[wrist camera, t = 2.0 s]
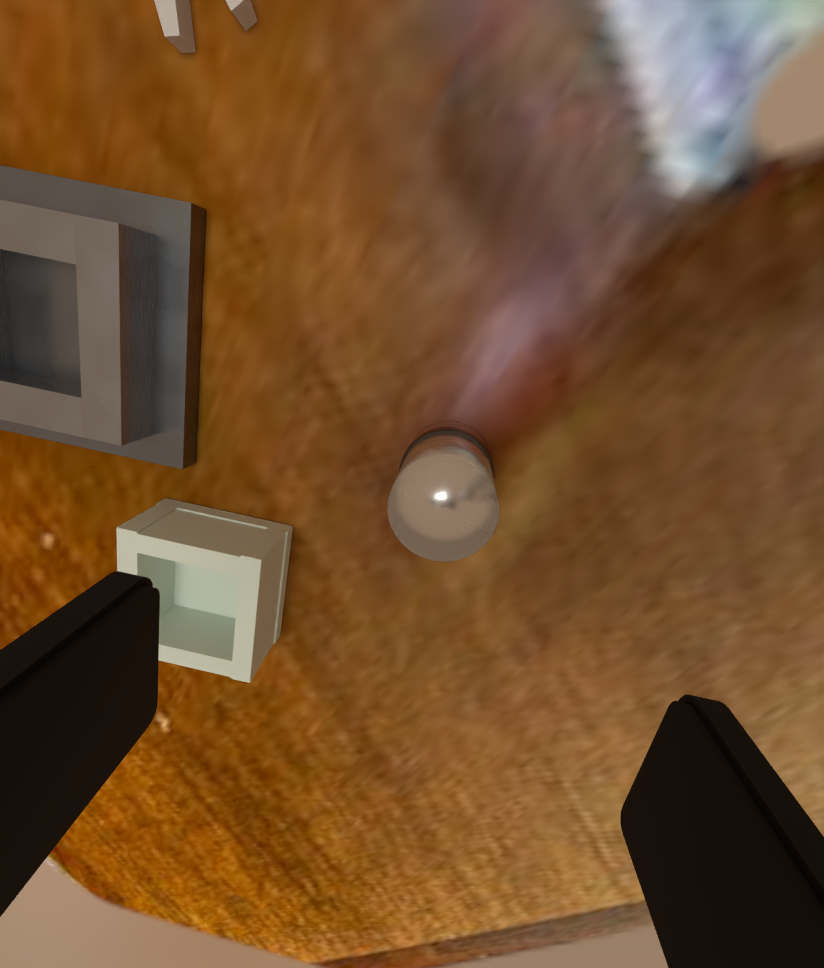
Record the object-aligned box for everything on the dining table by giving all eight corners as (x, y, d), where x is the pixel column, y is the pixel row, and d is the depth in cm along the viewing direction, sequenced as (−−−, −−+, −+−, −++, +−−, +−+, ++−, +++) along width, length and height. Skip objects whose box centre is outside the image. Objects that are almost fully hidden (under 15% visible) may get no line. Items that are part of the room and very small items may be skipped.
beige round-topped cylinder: (499, 428, 23) (515, 468, 16) (479, 507, 24) (486, 574, 17) (415, 410, 23) (396, 443, 16) (399, 490, 24) (375, 550, 18)
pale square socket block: (293, 526, 25) (263, 560, 22) (280, 635, 28) (251, 683, 24) (165, 498, 26) (114, 527, 22) (163, 608, 28) (116, 652, 24)
